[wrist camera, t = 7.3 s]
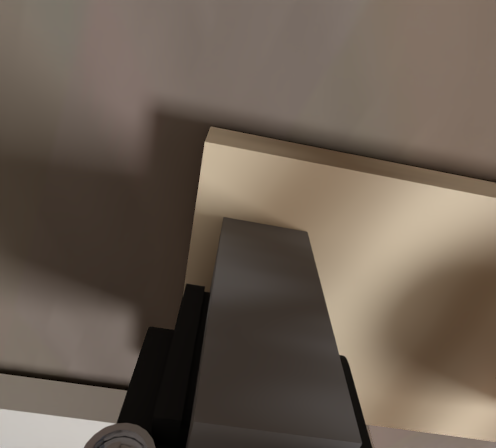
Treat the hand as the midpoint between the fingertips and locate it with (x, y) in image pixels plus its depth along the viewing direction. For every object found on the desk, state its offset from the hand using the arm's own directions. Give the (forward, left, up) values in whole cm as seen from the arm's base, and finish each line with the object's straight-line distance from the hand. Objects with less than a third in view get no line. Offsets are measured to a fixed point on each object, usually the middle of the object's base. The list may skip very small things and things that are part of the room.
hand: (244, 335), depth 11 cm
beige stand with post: (-7, 0, -3) cm, 8 cm away
